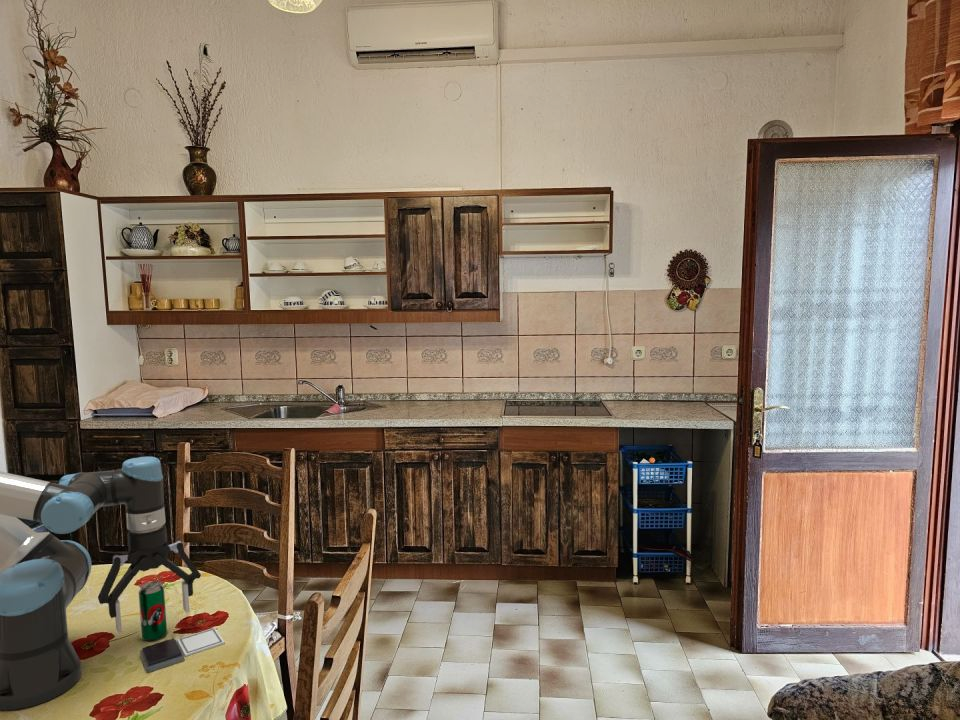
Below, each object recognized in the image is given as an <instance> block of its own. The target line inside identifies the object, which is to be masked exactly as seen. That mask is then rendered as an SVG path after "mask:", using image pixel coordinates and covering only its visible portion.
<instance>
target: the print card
mask: <svg viewBox="0 0 960 720" xmlns="http://www.w3.org/2000/svg"><path fill="white" fill-rule="evenodd" d="M176 641H177V643H178V645H179V647H180V648H181V650H182V652H183V654H184V658H186V657H189V656H191V655H195V654H199V653H201V652H203V651H207V650H210V649H214V648H217V647H219V646H223V645H225V644H226V642H225V640H224V638H223V637H222V636H221V634H220V632H219V631H218V630H217V628H216V627H212V628H209V629H206V630H203V631H199V632H197V633H193V634H188V635H186V636H183V637H180V638H177V639H176Z"/></svg>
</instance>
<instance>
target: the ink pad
mask: <svg viewBox="0 0 960 720" xmlns="http://www.w3.org/2000/svg"><path fill="white" fill-rule="evenodd" d="M139 657H140V659H141V662H142V664H143V666H144V669H145V671H146V674H149V673H151V672H155V671H158V670H160V669H164V668H167V667H170V666H173V665H175V664H178V663H181V662H185V655H184V653H183V651H182V649H181V648H180V646H179V644H178V642H177V639H175V638H174V637H173V638H170V639H167V640H163V641H160V642H157V643H154V644H151V645H147V646H145V647H141V649H140V650H139Z"/></svg>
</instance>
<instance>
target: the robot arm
mask: <svg viewBox="0 0 960 720" xmlns="http://www.w3.org/2000/svg"><path fill="white" fill-rule="evenodd" d="M121 466H122V467H121V469H115V470H103V471H93V472H92V471H90V472H83V471H81V472H77V473H72V474H70V473H69V474H66V475H63V476H62V477H60V479H59V482H58V483H55V482H52V481H51V482H50V481H46V480H42V479H36V478H33V477H27V476H24V475H18V474H14V473H8V472H4V471H2V470H1V471H0V711H15V710H21V709H27V708H30V707H34V706H36V705H40V704H43V703H45V702H48V701H50V700H53V699H55V698H57V697H58V696H61V695H62V694H65V692H67V691H69V690H70V689H71V688H73V686H75V685H76V683H78V682H79V680H80V679H81V677H82V674H83V673H82V663H81V658H79V656H78V653H77V652H76V650H75V648H74V646H73V644H72V643H71V641H70V639H69V633H68V632H69V631H68V621H67V619H68V618H67V608H68V607H69V605H70V604H71V603H72V601H73V600H74V598H75V597H76V596H77V594H79V593H80V592H81V590H83V589H84V587H85V585H86V583H88V580H89V579H88V578H89V577H90V574H91V572H92V559H91V556H90V553H89V551H88V550H87V549H86V548H85V547H84V546H83V545H81V544H80V542H79V543H78V542H76V541H73V540H68V539H67V540H66V539H65V540H63V539H62V540H60V539H59V538H57V536H55V535H54V534H58V535H65V534H71V533H73V532H75V531H78V529H80V528H81V527H83V526H84V525H85V524H87V523H88V522H89V521H90V519H91V518H92V517H93V515H94V514H95V513H96V512H97V511H98V510H99V509H101V508H102V507H103V508H104V507H110V506H120V505H124V506H125V515H126V517H125V518H126V528H127V530H128V532H127V542H128V552H127V554H122V555H119V554H118V553H116V554H114V555H112V563H111V567H110V570H109V571H108V573H107V576H106V579H105V580H104V583H103V585H102V587H101V589H100V592H99V593H98V597H97V600H98V602H99V604H100V605H103V604H107V605H108V613H109V617H110V618H111V619H113V618H115V628H116V631H117V633H118V634H120V633H123V629H122V628H123V627H122V615H121V604H120V603H121V602H120V600H119V598H120V596H121V595H122V594H123V592H124V591H125V590H126V588H127V586H128V585H129V584H130V583H131V582H132V580H133V579H134V578H135V576H137V575H138V573H139V572H140V571H141V572H147V571H149V570H151V569H152V570H155V569H159V567H160V566H163V567H165V568H167V569H168V570H170V571H171V572H172V573H173V574H175V575H176V576H178V577H179V578H180V579H182V581H181V592H182V593H181V594H182V607H183V610H184V612H185V614H186V613H187V614H188V613H191V612H190V611H191V610H190V600H189V599H190V598H189V597H191V596H193V595H194V589H193V588H194V587H193V586H194V585H193V584H194V583H195V580H196V579H200V578H201V577H202V576H201V575H202V574H201V572H200V571H199V570H198V568H197V567H196V566H195V564H194V563H193V562H192V560H191V559H190V557H189V556H188V555H187V553H186V552H185V548H184V544H183V543H182V541H181V540H179V539H178V540H176V541H175V542H174V543H171V544H168V537H167V526H166V525H165V524H166V522H167V521H166V511H165V499H164V498H165V497H164V496H165V495H164V494H165V493H164V475H163V474H162V473H163V472H162V464H161V461H160V459H159V458H158V457H155V456H139V457H132V458H129V459H127V460H125V461H123V463H122V465H121ZM21 519H22V520H29V521H33V522H38V523H42V524H43V526H44V528H46V529H47V530H48V531H45V532H36V531H35V530H33V529H32V528H31V527H30V526H28V525H27V524H25V522H23V521H22V520H21ZM53 533H54V534H53ZM171 551H173V553H175V554H178V556H179V557H180V559H182V561H183V562H184V564H185V565H186V566H187V568H188V569H189V570H190V572H191V573H187V571H185V570H183V569H182V568H181V567H179V566H178V565H177V564H175V563H174V562H173V561H172V560H170V559H169V558H168V555H169V554H170V552H171ZM126 561H128V562H129V563H130V565H129V567H128V568H127V570H126V572H125V573H124V574H123V575H122V577H121V578H120V579H119V581H118V582H117V584H116V585H115V587H114V588H113V586H114V583H115V581H116V579H117V577H118V574H119V573H120V570H121V567H122V566H123V565H124V564H125V563H126ZM112 588H113V589H112Z"/></svg>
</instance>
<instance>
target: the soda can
mask: <svg viewBox="0 0 960 720" xmlns="http://www.w3.org/2000/svg"><path fill="white" fill-rule="evenodd" d="M162 583H163V582H162V581H160V580H152V581H147V582H144V583H142V584H141V585H140V586H139V589H138V591H137V592H138V603H139V605H138V606H139V616H140V617H139V618H140V620H139V621H140V631H141V632H140V633H141V638H142V639H143V640H144V641H147V642H153V641H158V640H159V639H161V638H163V637H164V636H165V635H166V634H167V633H168V625H167V612H166V611H167V610H166V597H165V587H164V584H162Z"/></svg>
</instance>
